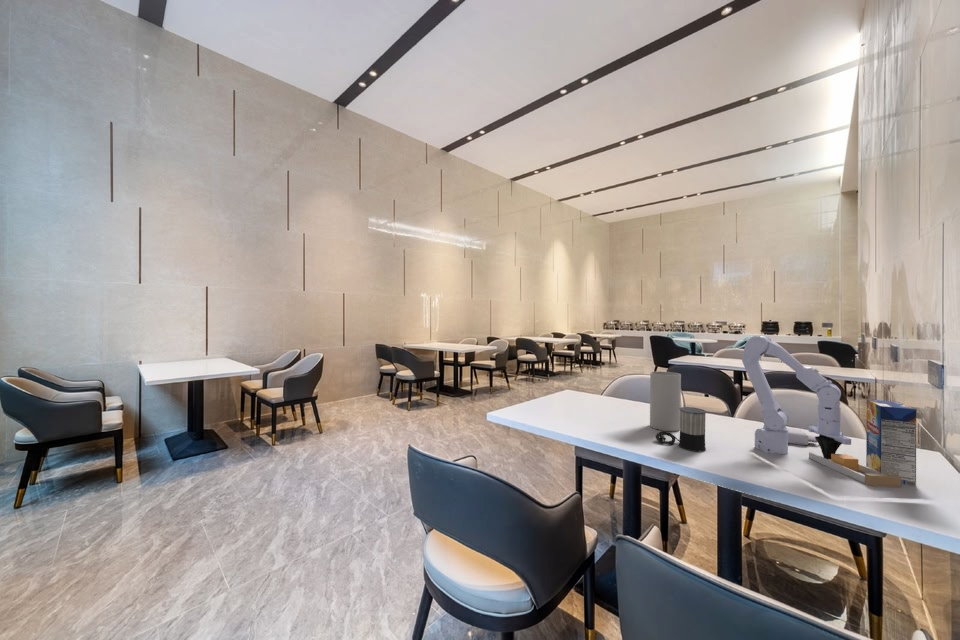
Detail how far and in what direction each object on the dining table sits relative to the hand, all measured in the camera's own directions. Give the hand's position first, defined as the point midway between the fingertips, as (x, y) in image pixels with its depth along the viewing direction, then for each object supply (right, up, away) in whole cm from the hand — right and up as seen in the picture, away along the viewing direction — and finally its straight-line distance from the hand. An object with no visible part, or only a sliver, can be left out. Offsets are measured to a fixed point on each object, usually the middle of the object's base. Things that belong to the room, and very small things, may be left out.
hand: (828, 458), depth 127 cm
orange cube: (0, -1, -6) cm, 6 cm away
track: (-1, -2, -8) cm, 8 cm away
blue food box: (+8, -3, -11) cm, 14 cm away
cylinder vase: (-36, -2, +42) cm, 55 cm away
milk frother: (-41, -2, +18) cm, 45 cm away
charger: (+10, -2, +23) cm, 25 cm away
